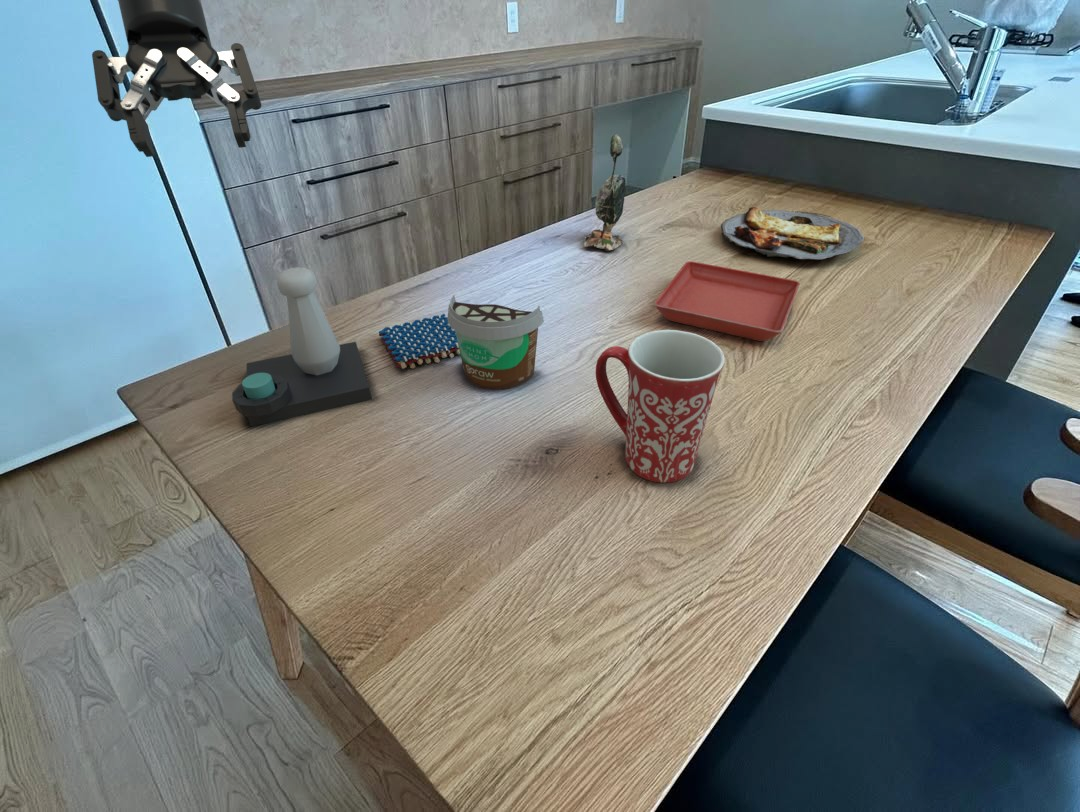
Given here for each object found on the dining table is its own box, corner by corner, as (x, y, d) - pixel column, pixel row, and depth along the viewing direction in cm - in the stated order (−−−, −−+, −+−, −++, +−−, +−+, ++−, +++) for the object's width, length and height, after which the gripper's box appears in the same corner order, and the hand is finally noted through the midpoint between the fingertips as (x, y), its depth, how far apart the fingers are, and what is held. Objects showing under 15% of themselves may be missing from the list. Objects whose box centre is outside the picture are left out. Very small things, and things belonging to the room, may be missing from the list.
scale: (241, 434, 67) (231, 410, 65) (242, 376, 77) (233, 354, 75) (373, 404, 72) (368, 380, 70) (358, 353, 82) (353, 331, 80)
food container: (438, 386, 75) (428, 316, 69) (457, 361, 79) (449, 294, 73) (530, 402, 72) (527, 330, 66) (544, 375, 76) (543, 306, 70)
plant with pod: (635, 236, 115) (645, 126, 104) (610, 256, 108) (617, 139, 96) (598, 229, 119) (603, 122, 107) (571, 248, 111) (573, 134, 99)
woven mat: (474, 354, 81) (472, 341, 80) (399, 374, 77) (396, 361, 76) (448, 322, 88) (446, 310, 87) (378, 339, 85) (376, 326, 83)
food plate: (700, 246, 111) (702, 228, 109) (746, 212, 126) (750, 196, 124) (838, 278, 99) (844, 258, 97) (871, 237, 113) (877, 219, 111)
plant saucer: (796, 299, 93) (801, 279, 91) (776, 352, 80) (782, 331, 78) (684, 278, 100) (687, 259, 98) (650, 324, 87) (652, 304, 85)
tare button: (246, 403, 67) (241, 390, 66) (246, 388, 69) (241, 376, 68) (276, 396, 68) (271, 384, 67) (275, 382, 70) (270, 370, 69)
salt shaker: (349, 370, 74) (325, 275, 67) (302, 384, 72) (272, 286, 64) (336, 350, 79) (313, 258, 71) (292, 362, 76) (263, 268, 68)
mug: (717, 453, 64) (740, 346, 56) (680, 502, 58) (700, 391, 50) (616, 412, 70) (624, 310, 62) (574, 453, 64) (576, 347, 56)
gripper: (243, 30, 66) (276, 161, 64) (99, 37, 62) (130, 176, 60) (227, -28, 59) (262, 117, 57) (62, -26, 55) (95, 131, 53)
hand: (194, 147), depth 59 cm, fingers open, 8 cm apart
